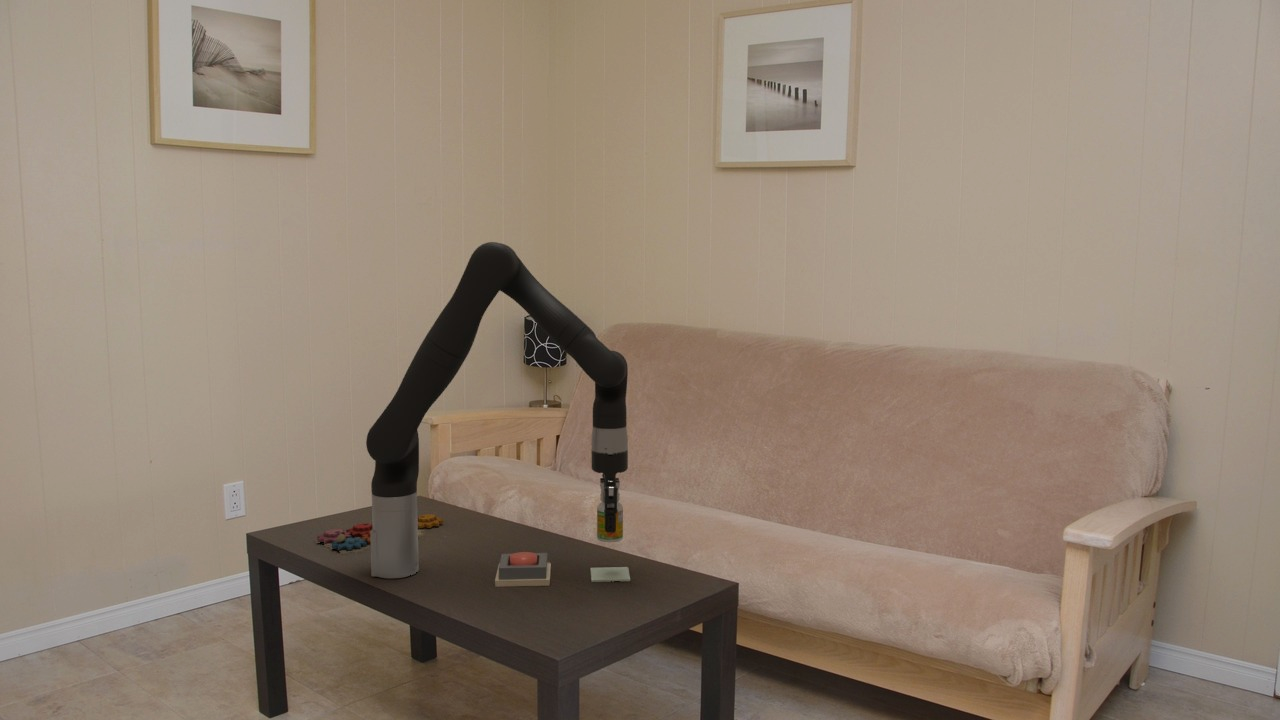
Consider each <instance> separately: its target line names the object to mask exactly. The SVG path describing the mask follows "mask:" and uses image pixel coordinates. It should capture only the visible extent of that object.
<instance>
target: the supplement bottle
mask: <svg viewBox="0 0 1280 720" xmlns="http://www.w3.org/2000/svg"><path fill="white" fill-rule="evenodd" d="M604 497H605V493H604ZM599 498H600V501H601V502H600V503H598V505H597V507H596V528H597V529H596V537H597V538H596V539H597V540H598V541H600V542H603V543H619V542H620V541H622V540H623V537H624V519H623V518H624V506H623V504H622V503H621V502H619V501H618V503H617V509H618V512H617V514H616V531H615V532H606V531H605V513H604V510H605V509H604V503H602V493H601V492H600V497H599ZM620 499H621V498H620V493H619V500H620ZM607 508H614V504H607Z"/></svg>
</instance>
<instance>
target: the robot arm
mask: <svg viewBox="0 0 1280 720" xmlns="http://www.w3.org/2000/svg"><path fill="white" fill-rule="evenodd" d="M469 257H470V258H469V260H468V262H467V264H466V267H465V269H464V270H463V273H462V276H461V278H460V280H459V282H458V285H457V286H456V288H455V290H454V292H453V294H452V295H451V298H450V299H449V301H448V302H447V304H446V305H445V306H444V308H443V309H442V310H441V312H440V314H439V315H438V316H437V318H436V320H435V321H434V323H433V324H432V326H431V327H430V329H429V330H428V332H427V333H426V336H425V337H424V339H423V340H422V342H421V343H420V345H419V347H418V349H417V351H416V353H415V354H414V357H413V358H412V360H411V362H410V364H409V366H408V368H407V370H406V372H405V374H404V376H403V378H402V380H401V382H400V384H399V386H398V388H397V391H396V392H395V394H394V396H393V398H392V399H391V400H390V402H389V403H388V404H387V406H386V407H385V408H384V410H383V411H382V413H381V414H380V415H379V417H378V418H377V420H376V421H375V422H374V423H373V425H372V426H371V427H370V428H369V430H368V433H367V436H366V441H365V443H366V450H367V453H368V454H369V456H370V457H371V458H372V460H374V461H375V462H374V465H375V467H374V470H373V471H374V472H373V476H372V479H371V484H370V485H371V486H370V487H371V491H370V492H371V513H372V515H371V517H372V519H371V520H372V522H371V523H372V526H373V529H372V531H371V533H370V541H371V548H370V565H371V566H370V568H371V569H370V570H371V573H370V574H371V576H370V577H378V578H382V579H401V578H406V577H410V575H411V576H413V575H415V574H417V573H418V572H419V562H420V561H419V560H420V559H419V539H418V530H419V528H418V517H419V516H418V478H419V472H420V440H419V439H420V438H419V431H418V429H419V427H420V425H421V424H422V421H423V419H424V417H425V416H426V414H427V413H428V411H429V409H430V408H431V407H432V406H433V404H435V402H436V401H437V400H438V399H439V397H440V396H441V395H442V394H443V393H444V391H445V390H446V389H447V388H448V386H449V385H450V384H451V382H452V381H453V379H454V378H455V376H456V375H457V374H458V373H459V370H460V369H461V367H462V366H463V364H464V362H465V360H466V359H467V357H468V355H469V353H470V351H471V350H472V346H473V345H474V342H475V340H476V336H477V334H478V330H479V327H480V324H481V321H482V320H483V317H484V316H485V313H486V311H487V309H488V308H489V306H490V304H491V303H492V302H493V300H495V298H496V296H497V295H498V294H499V292H501V293H502V294H503V293H504V294H505V295H506V296H508V297H510V298H511V299H512V300H513V301H514V302H516V304H518V305H519V306H520V307H521V308H522V309H523V310H524V311H525V312H526V313H527V314H528V316H530V317H531V318H532V320H533V321H534V322H535V323H536V324H537V326H538V327H539V328H540V329H541V330H542V331H543V332H544V334H545V335H547V337H549V338H550V340H552V341H553V342H554V343H555V344H556V345H557V346H558V347H559V348H560V349H561V350H563V351H564V353H566V354H567V355H569V356H570V357H571V358H572V359H573V360H574V361H575V362H576V364H577V365H578V366H579V367H580V368H581V370H582V371H583V372H584V373H585V374H586V375H587V376H588V377H589V378H590V379H591V380H592V381H593V382H594V401H593V405H592V430H591V431H592V432H591V442H590V443H591V444H590V446H591V449H590V450H591V470H592V471H593V472H594V473H597V474H601V477H600V478H599V486H600V494H601V493H602V501H601V502H602V503H604V509H605V510H604V513H605V531H606V532H615V531H616V514H617V512H618V509H617V503H618V502H619V501H620V499H619V494H620V492H619V489H620V488H621V486H620V481H621V480H620V477H617V474H619V473H620V474H622V473H625V472H627V470H628V468H629V462H628V461H629V456H628V455H629V454H628V453H629V443H628V442H629V438H628V436H629V435H628V427H627V413H628V412H627V403H626V400H627V399H626V397H627V388H628V376H629V374H628V373H629V372H628V362H627V360H626V358H625V356H624V355H623V354H621V353H620V352H619V351H617V350H611V349H609V348H608V347H607V346H606V345H605V344H604V343H602V341H601V340H600V339H598V338H597V336H596V334H595V332H594V331H593V330H592V329H591V327H589V326H588V325H587V324H586V323H585V322H584V321H583V320H582V319H581V318H580V317H578V315H576V314H575V313H574V312H572V310H571V309H570V308H568V307H567V306H566V305H565V304H564V303H562V302H561V301H560V300H559V299H557V298H556V296H554V295H553V294H552V293H551V292H550V291H549V290H548V289H547V288H546V287H544V286H543V284H542V283H540V281H538V280H537V278H535V276H534V275H533V274H532V272H531V271H530V270H529V269H528V268H527V266H525V265H526V264H524V263H523V262H522V260H521V259H520V257H519V256H518V255H517V253H516V251H515V250H514V249H513V248H512V247H510V246H509V245H507V244H505V243H501V242H497V241H489V242H485V243H482V244H481V245H479V246H477V247H476V248H475V250H474V251H473V253H472V254H471V255H470V256H469ZM604 493H605V497H604ZM607 504H614V508H607ZM416 572H417V573H416Z"/></svg>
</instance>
